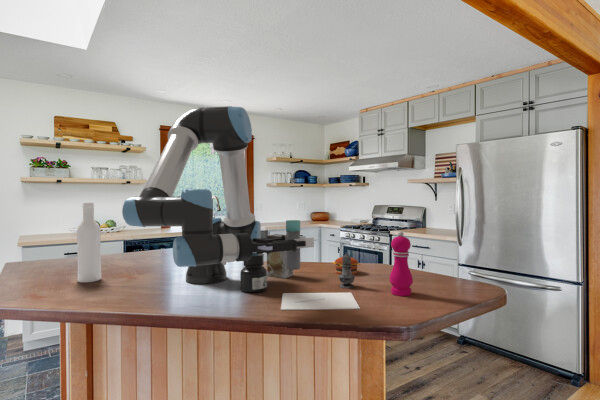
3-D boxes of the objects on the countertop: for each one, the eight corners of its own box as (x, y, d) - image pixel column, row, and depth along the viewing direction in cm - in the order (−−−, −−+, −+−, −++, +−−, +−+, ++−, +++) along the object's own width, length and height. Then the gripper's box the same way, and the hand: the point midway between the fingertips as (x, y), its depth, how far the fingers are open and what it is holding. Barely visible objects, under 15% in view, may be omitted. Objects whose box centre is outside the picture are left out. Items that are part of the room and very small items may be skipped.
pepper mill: (400, 298, 109) (400, 233, 109) (384, 292, 116) (384, 231, 116) (417, 294, 113) (417, 231, 113) (401, 289, 119) (401, 229, 119)
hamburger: (330, 272, 148) (330, 256, 148) (349, 269, 152) (349, 254, 152) (342, 276, 140) (342, 259, 140) (363, 274, 144) (362, 257, 144)
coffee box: (266, 275, 142) (265, 235, 141) (275, 272, 147) (275, 234, 147) (285, 278, 137) (284, 236, 136) (294, 275, 142) (293, 235, 142)
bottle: (79, 283, 131) (78, 202, 131) (75, 280, 137) (74, 202, 137) (103, 280, 136) (102, 202, 136) (98, 276, 142) (97, 201, 142)
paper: (280, 310, 99) (280, 308, 99) (282, 294, 115) (282, 293, 115) (359, 309, 99) (359, 307, 99) (350, 293, 115) (350, 292, 115)
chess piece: (355, 288, 121) (354, 253, 120) (337, 288, 122) (337, 253, 122) (355, 284, 126) (355, 250, 126) (339, 283, 128) (338, 250, 127)
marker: (286, 269, 102) (285, 221, 102) (286, 267, 106) (286, 220, 106) (300, 269, 102) (300, 221, 102) (300, 266, 106) (300, 220, 106)
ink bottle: (259, 294, 115) (258, 257, 114) (235, 292, 118) (234, 256, 118) (271, 287, 124) (271, 252, 124) (249, 285, 127) (248, 251, 127)
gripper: (224, 257, 103) (295, 250, 114) (246, 267, 88) (325, 258, 100) (224, 231, 103) (295, 226, 114) (246, 236, 88) (324, 231, 100)
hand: (308, 241), depth 107 cm, fingers closed on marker, 4 cm apart
